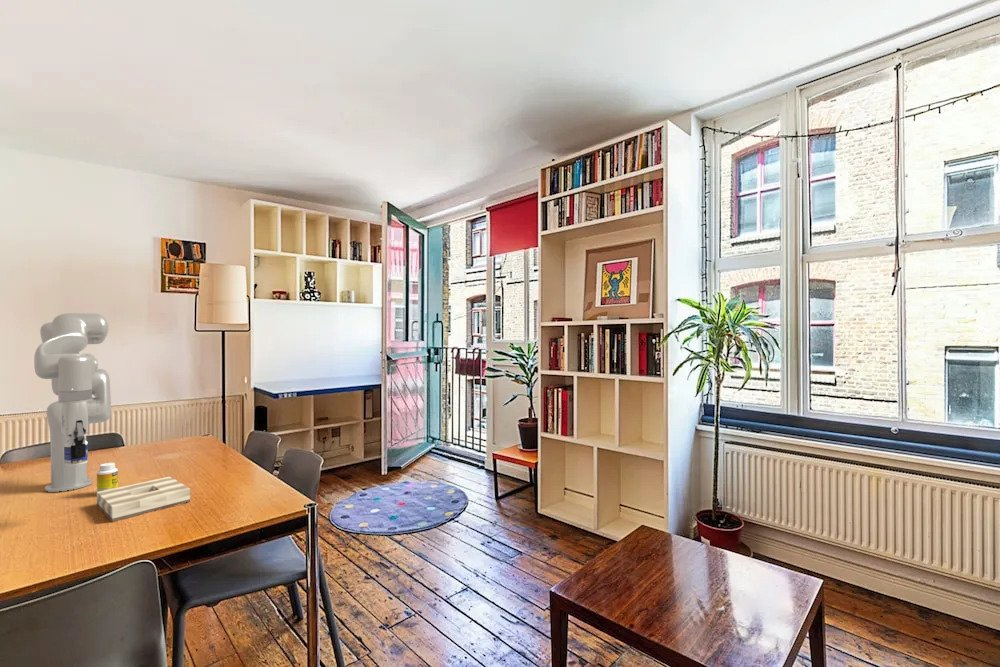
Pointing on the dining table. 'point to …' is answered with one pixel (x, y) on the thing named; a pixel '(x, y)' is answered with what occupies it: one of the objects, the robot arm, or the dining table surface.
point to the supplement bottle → (107, 477)
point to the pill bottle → (67, 454)
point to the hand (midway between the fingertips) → (76, 455)
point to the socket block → (142, 498)
